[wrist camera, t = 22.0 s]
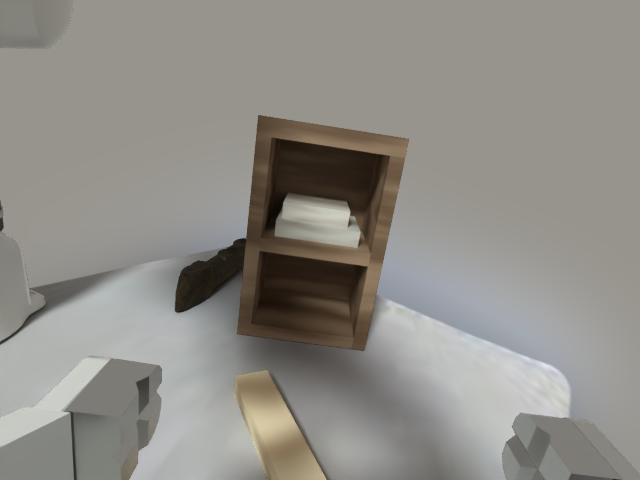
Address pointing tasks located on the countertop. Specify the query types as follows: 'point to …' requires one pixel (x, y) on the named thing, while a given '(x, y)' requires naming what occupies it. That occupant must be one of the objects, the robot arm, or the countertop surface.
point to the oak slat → (274, 430)
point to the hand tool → (208, 275)
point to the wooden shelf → (317, 231)
